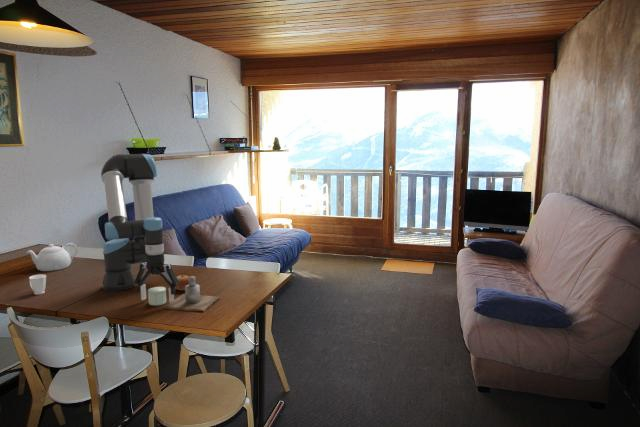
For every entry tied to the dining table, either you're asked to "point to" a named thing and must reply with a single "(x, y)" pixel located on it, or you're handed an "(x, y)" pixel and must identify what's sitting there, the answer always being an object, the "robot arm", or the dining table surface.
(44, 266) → the teapot
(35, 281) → the cup
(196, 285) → the bottle on square board
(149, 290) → the cap
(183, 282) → the apple
